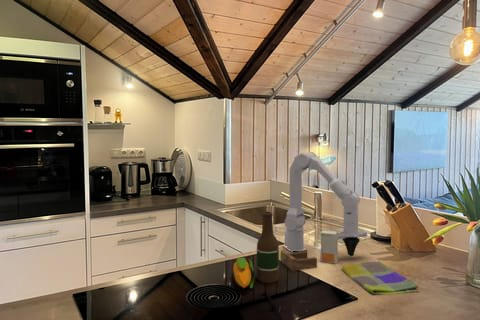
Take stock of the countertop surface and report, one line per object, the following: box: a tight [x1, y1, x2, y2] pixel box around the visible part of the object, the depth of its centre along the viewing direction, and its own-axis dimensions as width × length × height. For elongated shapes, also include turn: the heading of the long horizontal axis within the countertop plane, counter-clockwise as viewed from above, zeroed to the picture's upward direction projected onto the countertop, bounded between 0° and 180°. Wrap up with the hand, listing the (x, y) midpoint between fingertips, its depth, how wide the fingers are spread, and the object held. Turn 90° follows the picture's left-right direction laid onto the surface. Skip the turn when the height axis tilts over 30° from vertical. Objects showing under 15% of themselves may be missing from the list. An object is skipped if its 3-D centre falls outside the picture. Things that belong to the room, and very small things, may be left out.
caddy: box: [280, 249, 318, 272], centre depth 144 cm, size 12×10×4 cm
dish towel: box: [341, 261, 420, 296], centre depth 128 cm, size 18×24×3 cm
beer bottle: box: [256, 211, 280, 284], centre depth 129 cm, size 8×8×24 cm
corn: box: [232, 257, 255, 289], centre depth 126 cm, size 7×8×20 cm
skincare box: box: [320, 230, 339, 264], centre depth 147 cm, size 6×4×12 cm
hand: (350, 255), depth 150 cm, fingers closed
